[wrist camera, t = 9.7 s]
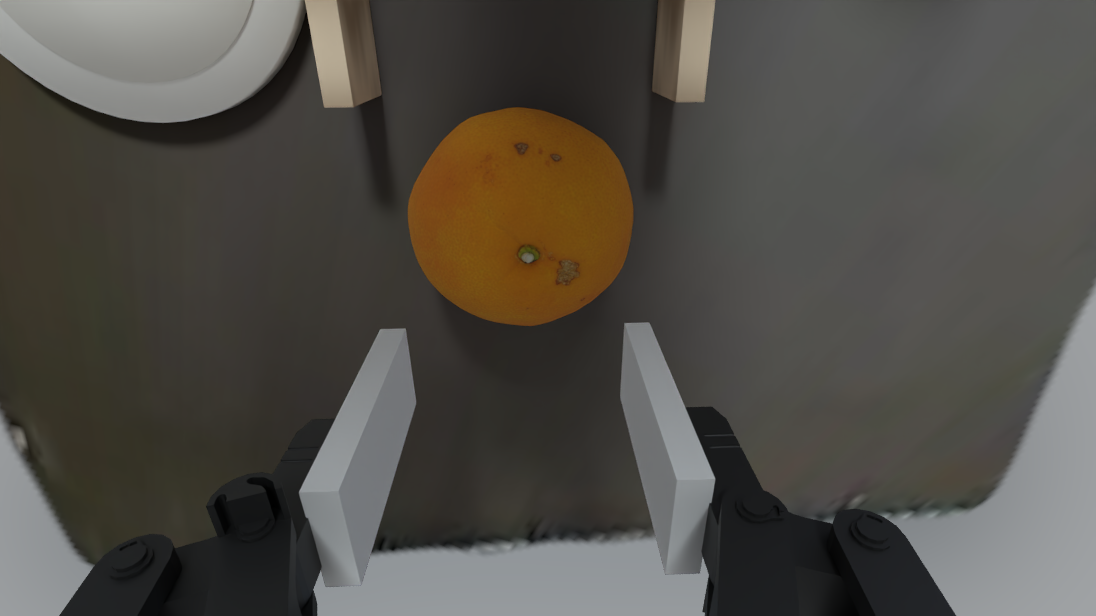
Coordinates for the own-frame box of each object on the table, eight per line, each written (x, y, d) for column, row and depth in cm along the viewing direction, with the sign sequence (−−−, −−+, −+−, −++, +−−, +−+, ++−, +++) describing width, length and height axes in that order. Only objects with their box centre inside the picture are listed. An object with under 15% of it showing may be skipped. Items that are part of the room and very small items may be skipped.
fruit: (550, 318, 33) (557, 396, 26) (393, 226, 30) (351, 285, 23) (659, 174, 30) (701, 218, 22) (491, 53, 27) (478, 61, 20)
